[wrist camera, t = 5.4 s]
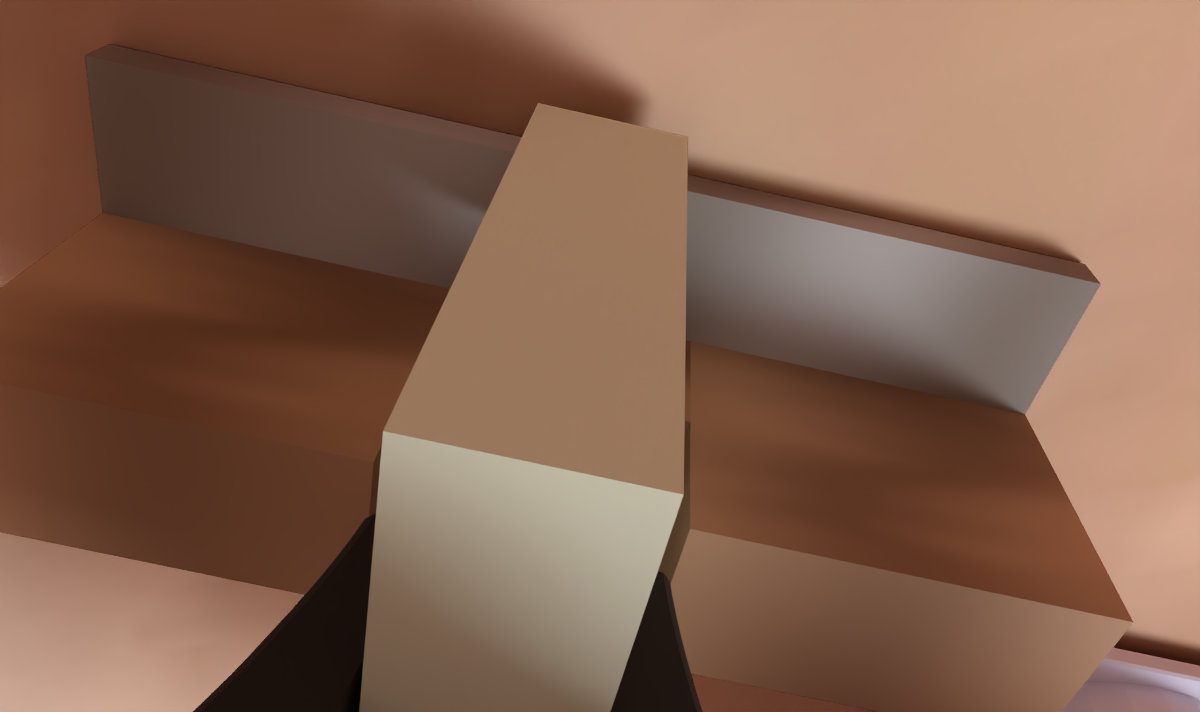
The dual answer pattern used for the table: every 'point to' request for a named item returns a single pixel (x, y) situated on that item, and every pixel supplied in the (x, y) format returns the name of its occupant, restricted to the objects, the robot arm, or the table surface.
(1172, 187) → the table surface
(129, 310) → the slotted base
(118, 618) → the table surface
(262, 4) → the table surface
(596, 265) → the cream h-shaped block
